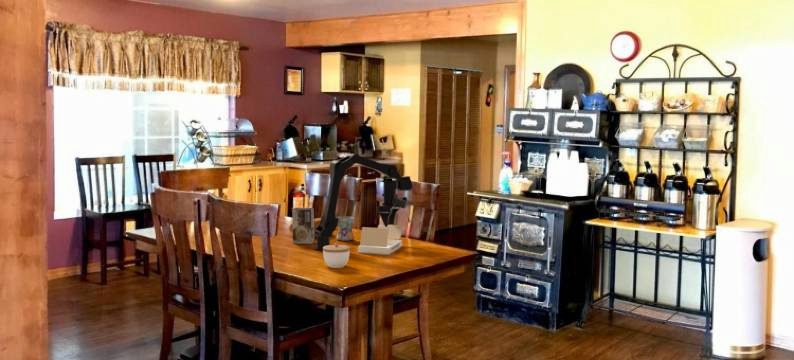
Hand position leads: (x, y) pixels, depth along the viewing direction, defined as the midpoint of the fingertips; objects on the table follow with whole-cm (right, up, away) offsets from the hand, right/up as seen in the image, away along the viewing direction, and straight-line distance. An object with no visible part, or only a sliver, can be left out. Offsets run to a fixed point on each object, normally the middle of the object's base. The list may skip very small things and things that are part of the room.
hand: (389, 225), depth 331 cm
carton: (-4, -10, -11) cm, 16 cm away
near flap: (-6, -4, -20) cm, 22 cm away
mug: (-22, -8, +13) cm, 26 cm away
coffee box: (-40, -9, +4) cm, 41 cm away
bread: (-40, -7, +22) cm, 46 cm away
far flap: (0, -3, 0) cm, 3 cm away
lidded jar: (-21, -14, -46) cm, 52 cm away
